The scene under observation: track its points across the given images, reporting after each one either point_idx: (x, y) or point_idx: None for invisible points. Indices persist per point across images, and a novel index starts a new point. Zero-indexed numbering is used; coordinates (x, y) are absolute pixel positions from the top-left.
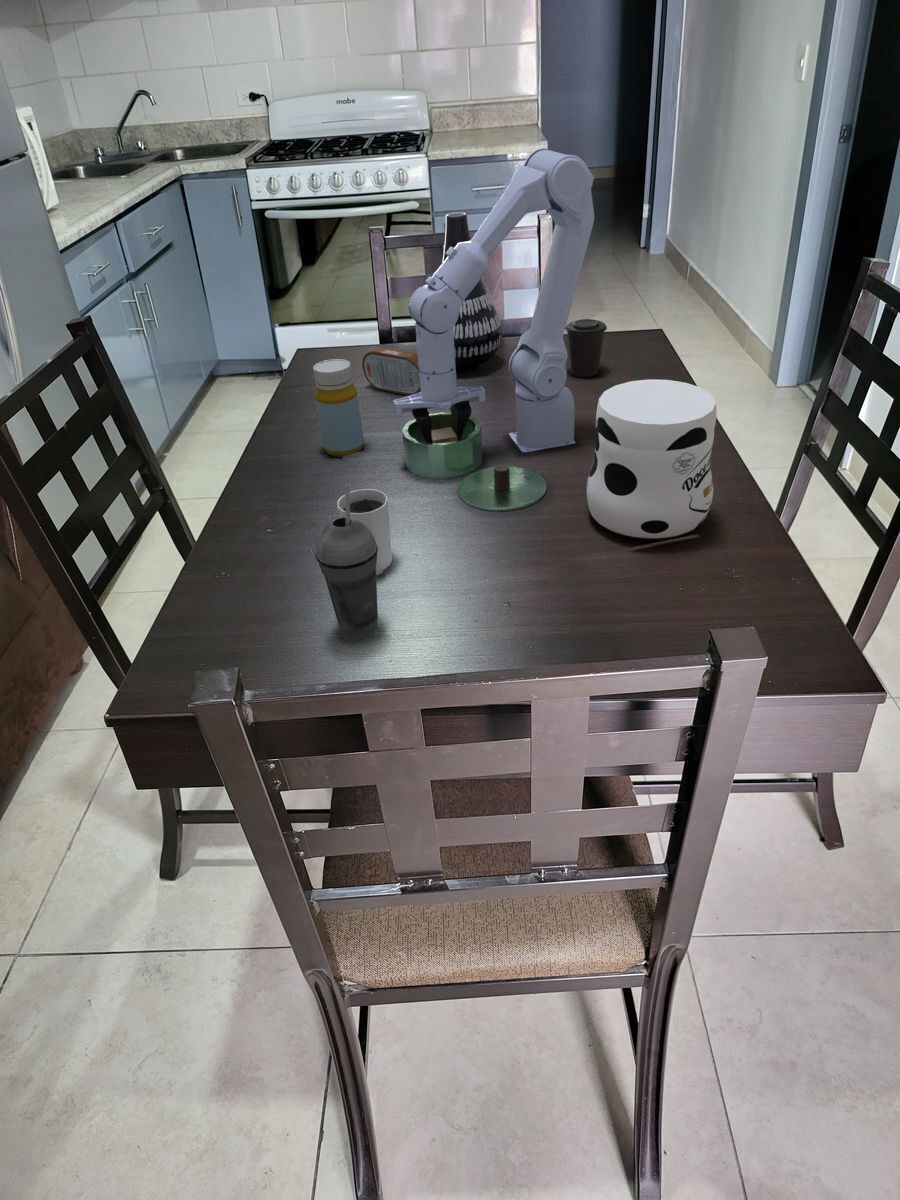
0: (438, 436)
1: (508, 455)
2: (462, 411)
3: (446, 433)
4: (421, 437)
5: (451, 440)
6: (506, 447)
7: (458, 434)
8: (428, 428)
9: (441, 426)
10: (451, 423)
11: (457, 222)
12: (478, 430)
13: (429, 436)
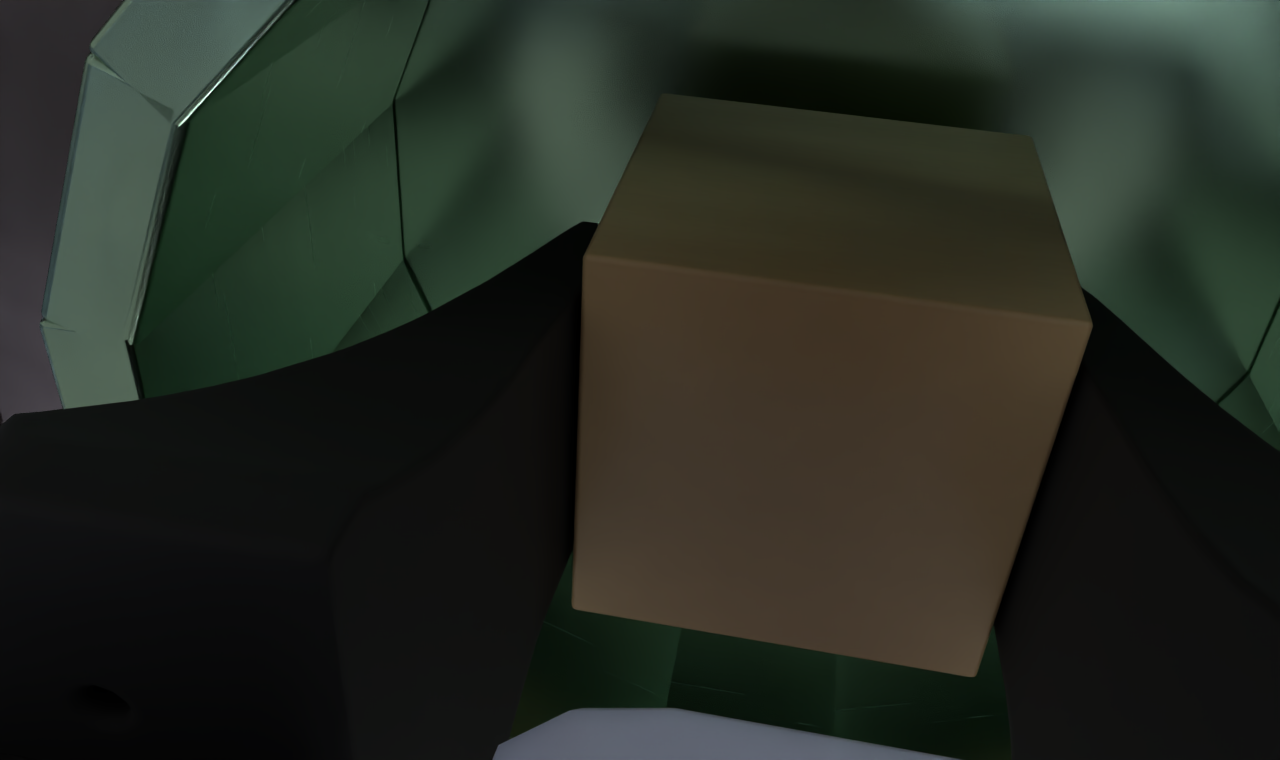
0: (914, 421)
1: (25, 53)
2: (170, 517)
3: (728, 451)
4: (954, 700)
5: (714, 240)
6: (38, 248)
7: (540, 300)
8: (1255, 525)
9: None
10: (517, 723)
11: None
12: (104, 102)
13: (1160, 421)
